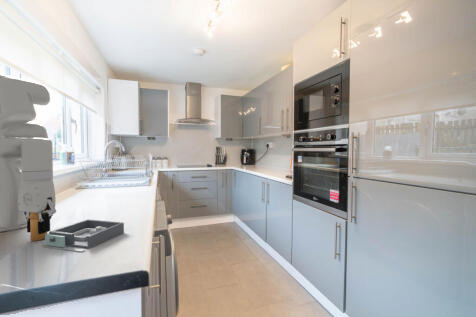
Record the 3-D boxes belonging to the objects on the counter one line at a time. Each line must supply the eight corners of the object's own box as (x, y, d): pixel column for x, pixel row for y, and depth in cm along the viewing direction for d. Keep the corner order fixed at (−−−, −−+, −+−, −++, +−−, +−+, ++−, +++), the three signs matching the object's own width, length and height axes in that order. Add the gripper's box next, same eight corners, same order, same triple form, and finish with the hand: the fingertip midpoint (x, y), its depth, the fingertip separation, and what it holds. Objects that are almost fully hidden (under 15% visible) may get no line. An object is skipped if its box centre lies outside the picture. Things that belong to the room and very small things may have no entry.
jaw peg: (25, 240, 69) (24, 209, 68) (41, 234, 73) (41, 205, 73) (35, 241, 67) (35, 210, 67) (51, 236, 72) (51, 206, 72)
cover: (42, 245, 64) (42, 235, 63) (47, 243, 65) (47, 234, 65) (60, 248, 62) (59, 238, 62) (65, 246, 63) (64, 236, 63)
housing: (40, 246, 65) (40, 233, 64) (88, 228, 79) (87, 218, 79) (81, 252, 60) (81, 238, 60) (123, 232, 75) (123, 221, 75)
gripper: (4, 176, 68) (6, 233, 69) (43, 178, 64) (44, 239, 64) (32, 174, 75) (33, 225, 76) (69, 175, 71) (70, 230, 72)
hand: (38, 231), depth 70 cm, fingers closed on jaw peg, 4 cm apart
